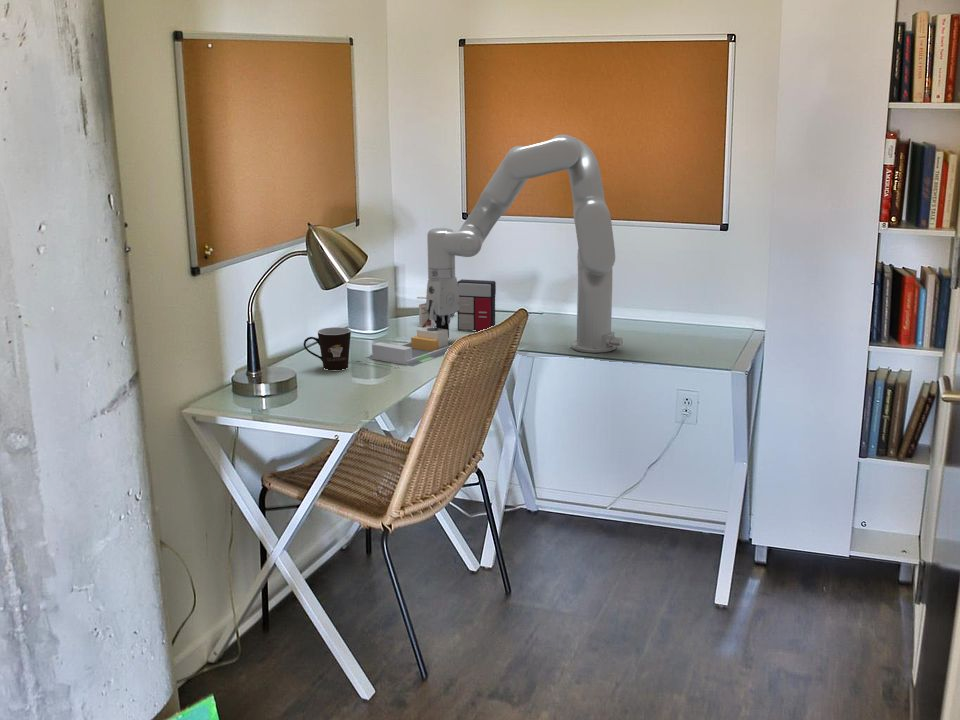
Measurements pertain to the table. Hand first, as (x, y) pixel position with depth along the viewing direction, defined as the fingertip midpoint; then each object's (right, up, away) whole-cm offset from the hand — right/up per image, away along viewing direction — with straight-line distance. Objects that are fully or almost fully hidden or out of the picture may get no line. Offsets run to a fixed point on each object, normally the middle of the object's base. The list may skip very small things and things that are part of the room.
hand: (442, 337), depth 302 cm
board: (-7, -5, -9) cm, 12 cm away
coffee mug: (-29, -8, -20) cm, 36 cm away
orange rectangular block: (-5, -3, -6) cm, 8 cm away
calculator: (+9, +2, +21) cm, 23 cm away
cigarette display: (-3, +6, +33) cm, 34 cm away
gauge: (-3, -2, -4) cm, 5 cm away
